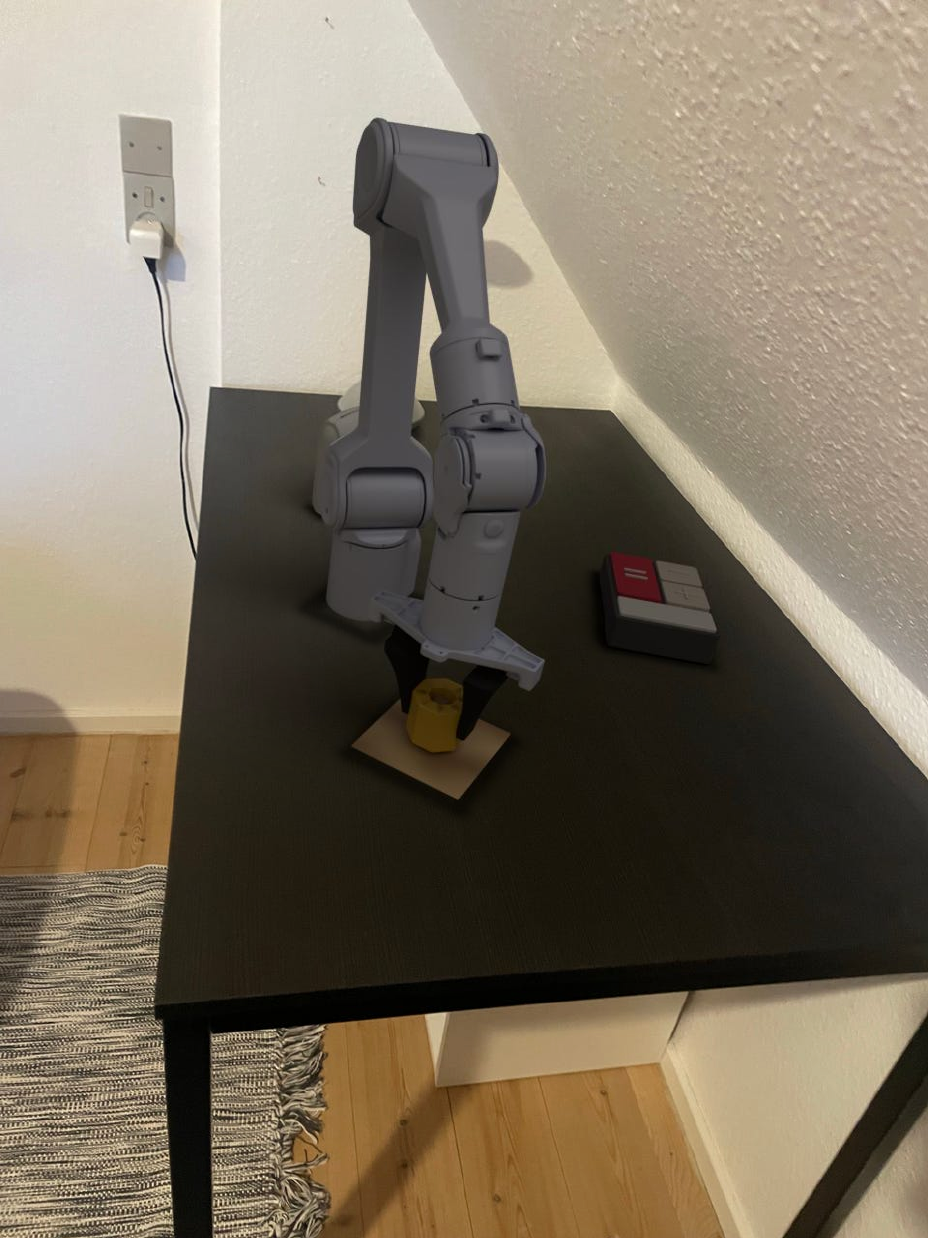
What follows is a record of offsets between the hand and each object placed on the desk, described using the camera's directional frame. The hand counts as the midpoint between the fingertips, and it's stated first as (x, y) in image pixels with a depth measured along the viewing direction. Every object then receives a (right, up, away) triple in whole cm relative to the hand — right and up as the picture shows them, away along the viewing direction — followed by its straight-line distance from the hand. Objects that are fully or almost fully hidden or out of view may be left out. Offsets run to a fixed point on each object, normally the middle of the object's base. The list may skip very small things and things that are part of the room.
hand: (437, 720), depth 78 cm
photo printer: (-11, +22, +36) cm, 43 cm away
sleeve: (0, -1, +1) cm, 1 cm away
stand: (-1, -2, +2) cm, 3 cm away
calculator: (+23, +8, +26) cm, 35 cm away
